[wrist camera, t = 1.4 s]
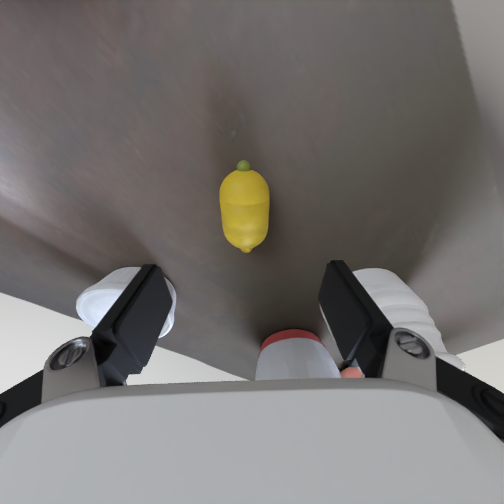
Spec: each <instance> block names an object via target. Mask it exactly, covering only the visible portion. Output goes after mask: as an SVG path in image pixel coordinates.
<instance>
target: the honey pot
mask: <svg viewBox="0 0 504 504" xmlns="http://www.w3.org/2000/svg"><path fill="white" fill-rule="evenodd" d="M352 273H353V274H354V275H355V277H356V278H357V279H358V281H359V282H360V283H361V285H362V286H363V287H364V288H365V290H366V291H367V292H368V294H369V295H370V296H371V298H372V299H373V300H374V302H375V303H376V304H377V306H378V307H379V308H380V310H381V311H382V312H383V314H384V315H385V316H386V318H387V319H388V320H389V322H390V323H391V324H392V326H393V327H394V328H398V327H401V328H407V329H409V330H412V331H414V332H416V333H418V334H419V335H421V336H422V337H423V338H425V339H426V340H427V341H428V342H429V344H430V345H431V346H432V348H433V349H434V352H435V356H437V357H439V358H440V359H442V360H444V361H446V362H448V363H450V364H452V365H453V366H455V367H457V368H459V369H461V370H463V371H464V372H465V364H464V362H463V361H462V360H461V359H460V358H459V357H457V356H455V355H452V354H449V353H447V351H446V349H445V346H444V344H443V342H442V340H441V333H440V332H439V331H438V330H437V328H436V327H435V326H434V321H433V320H432V318H431V317H430V316H429V313H428V308H427V306H426V305H425V303H424V302H423V301H422V300H421V299H420V298H419V297H418V296H417V295H416V294H415V293H414V292H413V291H412V290H411V289H410V288H409V287H408V286H407V285H406V284H405V283H404V282H403V281H402V280H401V279H400V278H399V277H398V276H397V275H396V274H395V273H393V272H391V271H389V270H386V269H380V268H368V269H362V270H358V271H354V272H352ZM319 305H320V304H319ZM320 310H321V312H322V315H323V317H324V320H325V322H326V325H327V327H328V329H329V331H330V333H331V337H332V338H333V340H334V341H335V339H334V337H333V334H332V332H331V330H330V327H329V325H328V323H327V320H326V318H325V315H324V313H323V311H322V308H321V306H320ZM335 342H336V341H335ZM358 369H359V370H360V367H358ZM360 371H361V370H360Z"/></svg>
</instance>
